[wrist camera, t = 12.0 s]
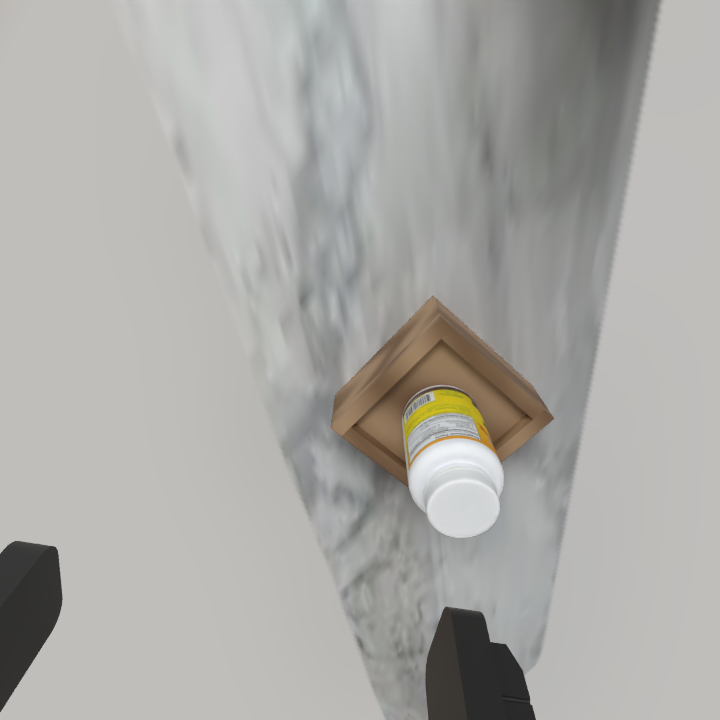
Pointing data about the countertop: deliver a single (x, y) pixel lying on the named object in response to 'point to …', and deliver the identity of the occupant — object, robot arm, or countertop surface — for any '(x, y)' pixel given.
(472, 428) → the supplement bottle
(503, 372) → the walnut tray
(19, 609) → the robot arm
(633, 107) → the countertop surface
